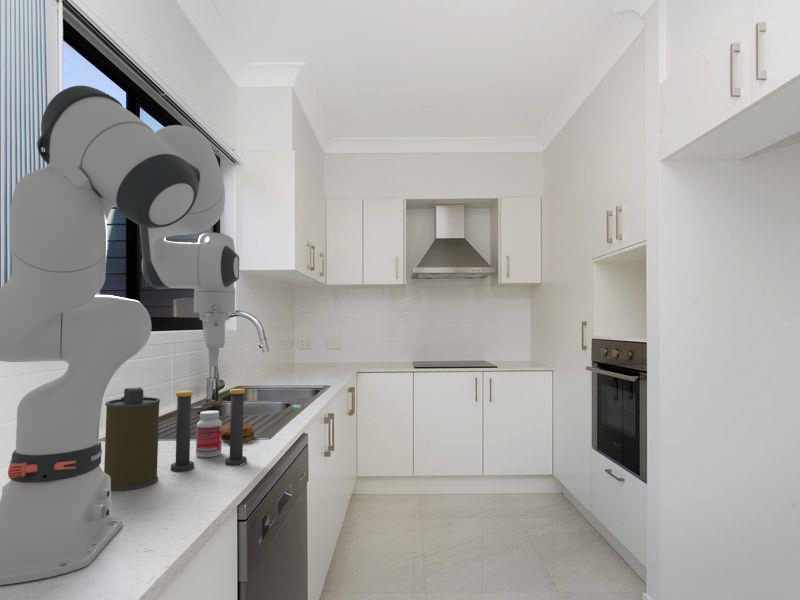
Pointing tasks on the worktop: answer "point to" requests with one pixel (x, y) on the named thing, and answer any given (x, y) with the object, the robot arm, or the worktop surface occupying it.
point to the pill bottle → (209, 435)
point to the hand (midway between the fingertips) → (213, 366)
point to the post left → (183, 432)
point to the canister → (132, 440)
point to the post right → (236, 428)
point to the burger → (247, 433)
